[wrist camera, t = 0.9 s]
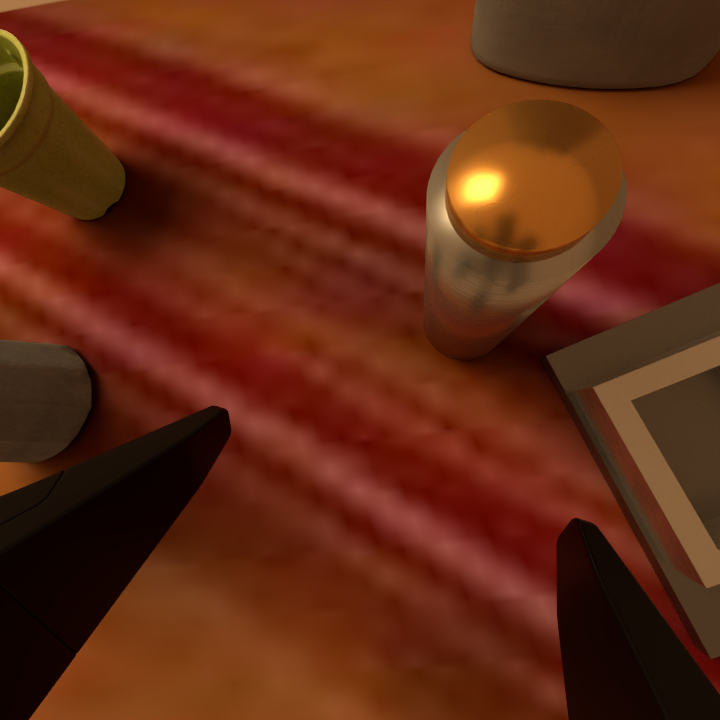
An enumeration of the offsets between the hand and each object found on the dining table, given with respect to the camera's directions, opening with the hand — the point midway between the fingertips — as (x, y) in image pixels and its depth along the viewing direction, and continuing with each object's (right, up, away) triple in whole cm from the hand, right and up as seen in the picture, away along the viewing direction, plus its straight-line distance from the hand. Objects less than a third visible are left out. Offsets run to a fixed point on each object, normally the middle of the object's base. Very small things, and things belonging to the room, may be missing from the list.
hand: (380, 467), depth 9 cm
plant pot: (-23, +17, +20) cm, 35 cm away
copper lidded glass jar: (+6, +5, +13) cm, 15 cm away
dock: (+19, -2, +10) cm, 21 cm away
